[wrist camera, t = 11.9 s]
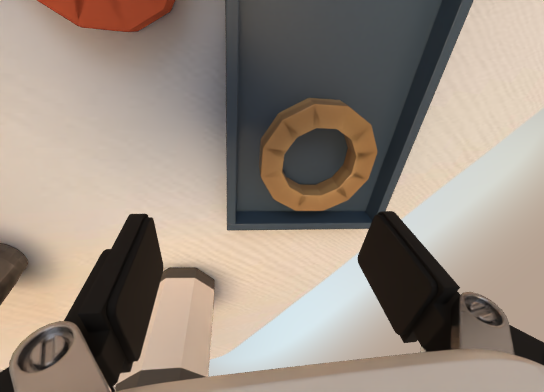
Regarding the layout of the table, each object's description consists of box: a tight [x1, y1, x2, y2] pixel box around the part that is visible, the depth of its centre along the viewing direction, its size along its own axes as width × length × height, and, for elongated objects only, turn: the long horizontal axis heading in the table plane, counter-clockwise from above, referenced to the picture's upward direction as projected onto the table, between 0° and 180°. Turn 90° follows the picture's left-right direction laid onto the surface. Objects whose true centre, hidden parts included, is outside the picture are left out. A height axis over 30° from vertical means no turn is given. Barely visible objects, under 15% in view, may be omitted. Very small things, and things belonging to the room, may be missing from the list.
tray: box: [225, 0, 473, 230], centre depth 19 cm, size 28×16×3 cm, turn 175°
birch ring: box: [259, 98, 377, 211], centre depth 22 cm, size 10×10×2 cm
